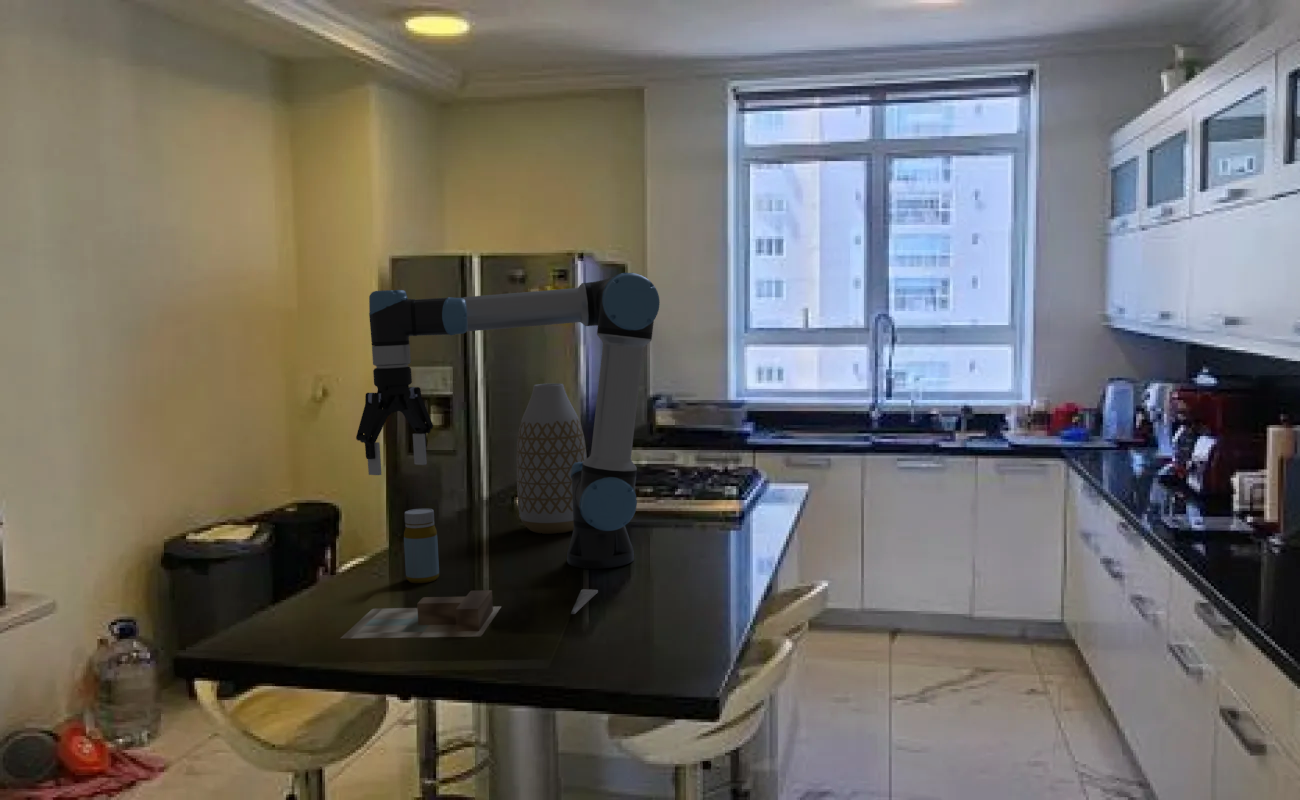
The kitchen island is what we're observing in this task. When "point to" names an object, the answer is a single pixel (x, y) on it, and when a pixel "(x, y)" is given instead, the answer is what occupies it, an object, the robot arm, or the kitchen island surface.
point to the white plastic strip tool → (583, 599)
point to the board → (406, 625)
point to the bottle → (421, 546)
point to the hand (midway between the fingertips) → (398, 469)
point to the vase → (548, 460)
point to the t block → (457, 610)
